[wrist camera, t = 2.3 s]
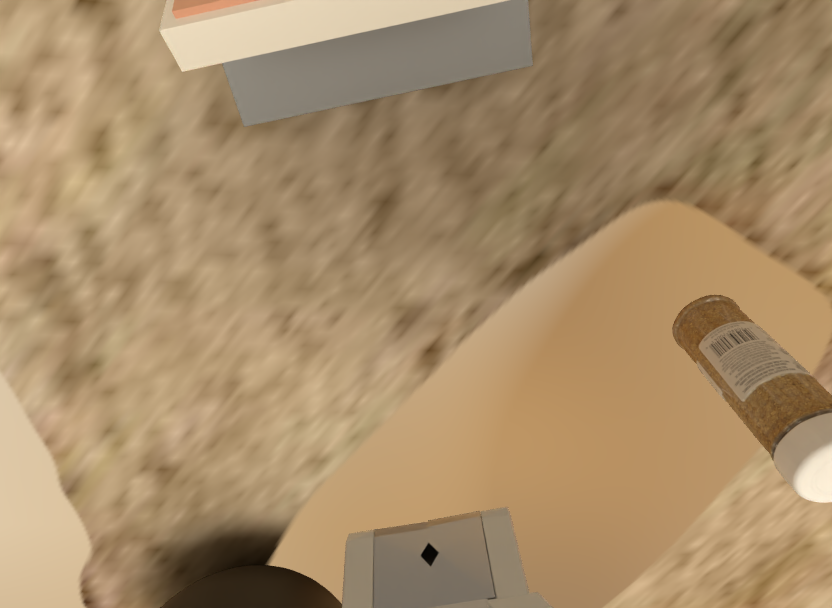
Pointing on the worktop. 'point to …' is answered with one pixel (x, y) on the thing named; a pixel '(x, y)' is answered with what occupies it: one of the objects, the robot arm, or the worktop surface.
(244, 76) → the stand
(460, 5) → the tile
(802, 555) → the worktop surface
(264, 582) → the coal bowl
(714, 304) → the sprinkles bottle
